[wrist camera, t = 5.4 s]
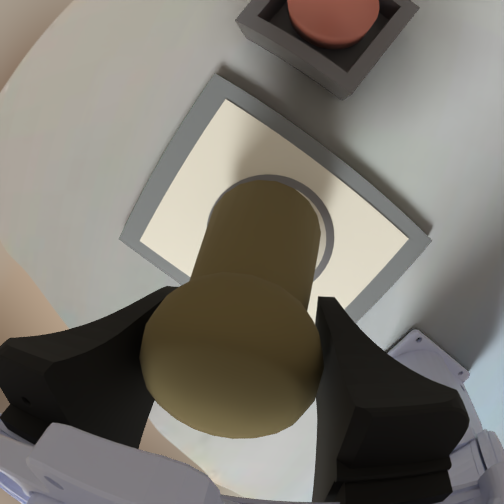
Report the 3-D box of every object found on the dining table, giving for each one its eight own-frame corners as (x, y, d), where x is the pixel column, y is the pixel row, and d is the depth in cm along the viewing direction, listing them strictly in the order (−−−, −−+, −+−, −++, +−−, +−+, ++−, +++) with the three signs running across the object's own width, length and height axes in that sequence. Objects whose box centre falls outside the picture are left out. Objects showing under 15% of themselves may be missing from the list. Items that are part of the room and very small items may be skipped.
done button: (383, 13, 12) (395, -3, 10) (341, 64, 14) (348, 54, 12) (316, -29, 12) (318, -49, 10) (272, 21, 14) (268, 5, 11)
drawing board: (428, 236, 19) (433, 241, 18) (308, 360, 24) (308, 368, 23) (218, 75, 17) (214, 72, 16) (123, 235, 22) (117, 239, 21)
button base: (401, 25, 14) (419, 7, 11) (342, 100, 17) (351, 94, 14) (308, -35, 13) (309, -61, 10) (246, 38, 16) (234, 20, 13)
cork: (201, 270, 18) (119, 428, 9) (217, 168, 16) (94, 279, 6) (303, 294, 18) (298, 473, 8) (334, 196, 15) (388, 351, 6)
